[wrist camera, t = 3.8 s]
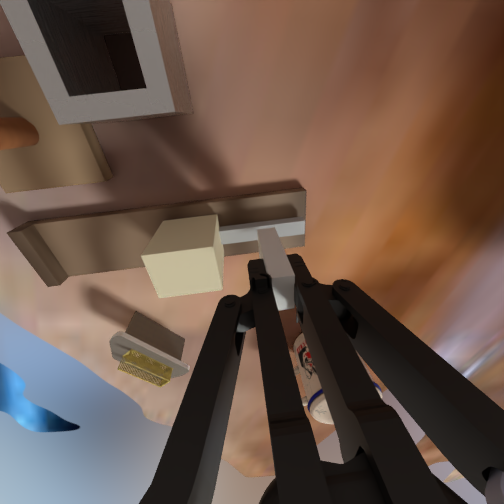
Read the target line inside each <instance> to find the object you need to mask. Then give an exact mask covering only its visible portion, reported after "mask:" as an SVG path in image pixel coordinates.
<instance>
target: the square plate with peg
mask: <svg viewBox="0 0 504 504" xmlns="http://www.w3.org/2000/svg"><path fill="white" fill-rule="evenodd" d="M111 178H113V175H112V173H111V170H110V168H109V166H108V163H107V161H106V158H105V156H104V154H103V151H102V149H101V146H100V144H99V142H98V139H97V137H96V134H95V132H94V130H93V127H92V125H91V123H87V124H67V125H59V124H58V122H57V120H56V118H55V116H54V114H53V111H52V109H51V107H50V105H49V103H48V101H47V99H46V97H45V95H44V93H43V91H42V89H41V87H40V85H39V83H38V81H37V78H36V76H35V74H34V72H33V70H32V68H31V66H30V64H29V62H28V60H27V58H26V56H25V55H22V56H13V57H3V58H0V185H1V187H2V188H3V190H4V191H5V193H12V192H21V191H29V190H38V189H46V188H54V187H63V186H71V185H79V184H88V183H96V182H104V181H107V180H109V179H111Z"/></svg>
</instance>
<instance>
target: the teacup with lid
mask: <svg viewBox="0 0 504 504" xmlns="http://www.w3.org/2000/svg"><path fill="white" fill-rule="evenodd" d="M355 351H356V350H355ZM356 352H357V351H356ZM294 353H295V356H296V360H297V364H298V366H296V367H294V368H293V369H294V373H295V376H296V375H297V374H299V373H300V375H301V378H302V382H303V385H304V389H305V393H306V396H305V397H303V398H301V399H302V403H303V406H306V405H308V410H309V412H310V414H311V415H312V417H313V418H314V419H316V420H317V421H319V422H322V423H326V424H334V422H333V420H332V417H331V414H330V411H329V408H328V405H327V402H326V399H325V396H324V393H323V390H322V387H321V384H320V381H319V379H318V376H317V373H316V370H315V367H314V364H313V361H312V358H311V355H310V352H309V349H308V346H307V343H306V341H305V338H304V335H303V332H302V333H301V334H300V335H299V336H298V337H297V339H296V340H295V343H294ZM357 354H358V353H357ZM358 356H359V358H360V360H361V362H362V363H363V365H364V367H365V369H366V371H367V373H368V375H369V376H370V378H371V380H372V382H373V384H374V386H375V388H376V389H377V391H378V393H379V395H380V397H381V398H382V393H381V389H380V387H379V386H378V385H377V384H376V383H375V382H374V380H373V378H372V376H371V375H370V373H369V371H368V369H367V367H366V365H365V364H364V362H363V360H362V358H361V356H360V355H359V354H358Z"/></svg>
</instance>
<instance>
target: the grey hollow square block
mask: <svg viewBox="0 0 504 504" xmlns="http://www.w3.org/2000/svg"><path fill="white" fill-rule="evenodd" d="M0 4H1V6H2V8H3V10H4V13H5V15H6V17H7V19H8V21H9V23H10V25H11V27H12V29H13V31H14V33H15V35H16V37H17V39H18V41H19V43H20V45H21V48H22V50H23V52H24V54H25V56H26V58H27V60H28V62H29V64H30V66H31V68H32V70H33V72H34V74H35V76H36V78H37V81H38V83H39V85H40V87H41V89H42V91H43V93H44V95H45V97H46V99H47V101H48V103H49V105H50V107H51V109H52V111H53V114H54V116H55V118H56V120H57V122H58V124H59V125H67V124H87V123H107V122H121V121H130V120H139V119H148V118H157V117H165V116H174V115H183V114H192V113H193V108H192V103H191V98H190V93H189V88H188V83H187V78H186V73H185V68H184V63H183V58H182V53H181V48H180V43H179V38H178V33H177V28H176V23H175V18H174V13H173V8H172V4H171V2H170V0H0ZM123 33H131V34H132V37H133V41H134V44H135V48H136V51H137V55H138V59H139V62H140V66H141V69H142V73H143V76H144V80H145V83H146V87H147V88H143V89H134V90H125V91H121V88H120V85H119V82H118V79H117V76H116V73H115V70H114V67H113V64H112V61H111V58H110V55H109V51H108V48H107V45H106V42H105V39H104V35H114V34H123Z"/></svg>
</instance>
